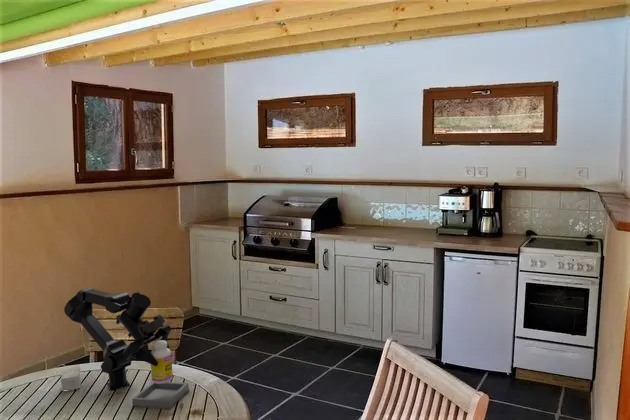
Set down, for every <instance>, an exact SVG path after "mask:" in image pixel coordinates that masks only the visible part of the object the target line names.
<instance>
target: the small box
mask: <svg viewBox="0 0 630 420" xmlns="http://www.w3.org/2000/svg"><path fill="white" fill-rule="evenodd" d="M81 379H82V378H81V371H80V369H79V370H73V371H72V370H71V371H67V372H66V371H65V372H63V373H62V374H61V377H60V385H61V392H62V391H64V390H71V391H73V390H72V389H76V390H79V389H78V388H81V385H82V380H81Z"/></svg>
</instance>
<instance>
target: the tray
mask: <svg viewBox="0 0 630 420" xmlns="http://www.w3.org/2000/svg"><path fill="white" fill-rule="evenodd" d="M189 391H190V387H189V382H178V381H177V382H175V381H174V382H173V381H169V382H167V383H164V384H156V383H153V381H151V383H149V384H148V385H146V386H145V388H143V389H142V390H141V391H140V392H139V393H137V394H136V395H135V396H134V397H132V399H131V400H132V407H137V408H138V407H139V408H140V407H141V408H151V409H161V410H162V409H164V410H170V409H171V408H173V406H174V405H176V403H177V402H179V400H180V399H182V397H184V396H185V395H186V394H187V393H188V392H189Z"/></svg>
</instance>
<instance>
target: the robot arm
mask: <svg viewBox="0 0 630 420" xmlns="http://www.w3.org/2000/svg"><path fill="white" fill-rule="evenodd" d="M151 303H152V302H151V298H150V297H148V296H147V295H145V294H141V293H140V292H139V291H136V292H133V293H132V295H130V294H129V293H128V292H114V293H110V292H106V291H102V290H99V289H95V288H93V287H88V288H84V289H80V290H79V291H77V293H76V294H75V295H74V296H73V297H71V298H70V299H69V300H68V302H67V303H65V306H64V307H63V308H64V309H63V311H64V314H65V315H66V316H67V317H68V318H69V320H71V321H72V322H75V323H79V324H80V325H81V326H82V327H83V328H84V329H85V331H86V332H87V333H88V334H89V335H90V337H91V338H92V339H93V341H95V343H96V344H97V346H99V348H101V350H102V353H103V362H102V364H101V365H100V369H101V372H102V373H105V374H107V375H108V382H107V383H106V385H107V387H108V389H109V391H111V392H112V391H115V390H120V389H122V388H126V387H130V385H131V384H130V383H129V381H128V379H127V378H128V377H127V369H126V368H127V367H129V366H131V365H132V360H134V359H137V360H139V361H142V362H146V363H148V364H150V365H151V364H152V365H154V366H157V365H158V362H157V361H156V359H155V358H154V357H153V355H152V354H151V351H150V350H149V345H150V344H151V343H154V342H156V341H160V340H164V341H167V348H168V349H170V350H171V348H170V344H169V343H168V342H169V341H168V338H169V336H170V333H171V332H172V331H173V328H171V326H170V324H169V325H167V324H165V321H166V319H165V318H164V317H163V316H162V315H161V314H158V315H156V316H154V317H153V320H152V321H150V322H149V321H148V320H147V319H145V320H143V319H142V317H143V316H144V315H145V313H146V312H147V310H148V309H149V308H150V306H151ZM94 304H95V305H98V306H102V307H104V308H105V311H106V312H109V313H111V314H116V313H120V312H121V313H120V314H118V315H116V320H115V324H117V325H119V324H122V326H123V327H124V328H125V329H126V331H127V332H128V334H127V336H128V338H131V337H132V338H133V339H134V341H132V342H130V343H129V344H127V343H126V341H125V340H123V339H119V340H115V339H114V338H113V337H112V335H111V334H110V333H109V331H108V330H107V329H106V328H105V326H103V325H102V323H101V322H100V320H98V318H97V317H96V316H95V315H94V314H93V310H94V309H93V307H94V306H93V305H94ZM164 324H165V325H164ZM172 357H173V353H172V352H171V358H172Z"/></svg>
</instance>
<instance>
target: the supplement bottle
mask: <svg viewBox="0 0 630 420" xmlns="http://www.w3.org/2000/svg"><path fill="white" fill-rule="evenodd" d="M167 341H168V340H167ZM167 341H164V340H160V341H156V342H155V341H153V342H152V344H151V345H152V346H151V347H152V350H151V351H150V353H151V354H152V355H153V357H154V358H155V359H156V361H157V362H158V365H157V366H154V365H152V364H150V371H151V372H150V374H151V382H153V383H156V384H164V383H167V382H172V381H171V380H173V377H174V375H173V373H174V372H173V363H172V362H173V361H172V357H171V353H172V351H171V348H170V349H168V348H167Z"/></svg>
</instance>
